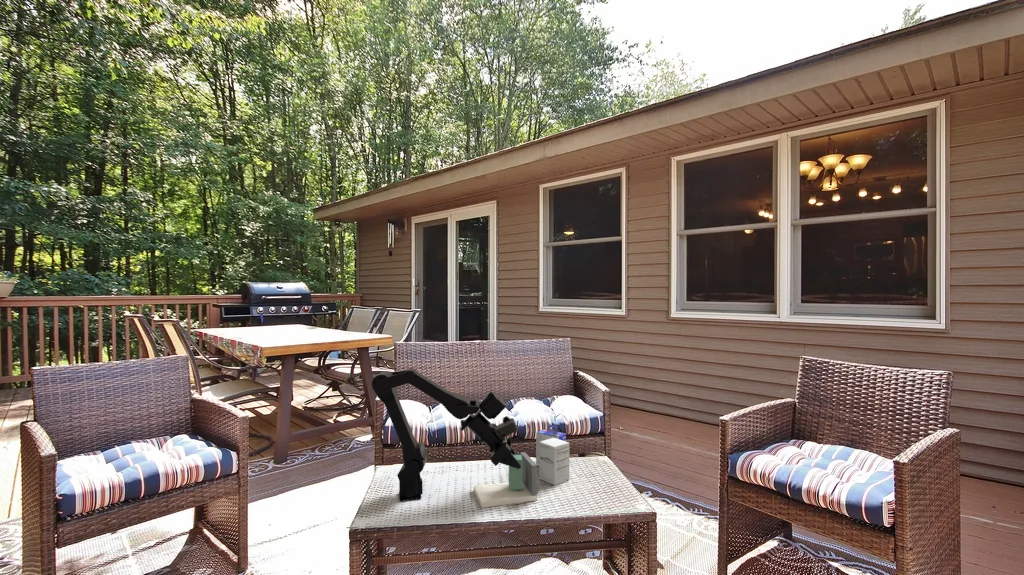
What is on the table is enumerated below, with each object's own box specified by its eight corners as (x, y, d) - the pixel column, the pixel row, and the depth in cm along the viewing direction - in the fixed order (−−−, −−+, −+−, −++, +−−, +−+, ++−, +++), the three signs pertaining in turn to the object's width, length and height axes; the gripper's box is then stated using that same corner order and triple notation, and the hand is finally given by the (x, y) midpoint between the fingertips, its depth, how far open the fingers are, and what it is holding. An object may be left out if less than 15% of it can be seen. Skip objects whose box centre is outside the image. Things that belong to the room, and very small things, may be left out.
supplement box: (538, 479, 156) (538, 441, 156) (554, 473, 161) (554, 436, 161) (554, 486, 150) (554, 446, 150) (570, 480, 155) (570, 441, 155)
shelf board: (481, 507, 136) (481, 471, 136) (473, 491, 147) (473, 457, 147) (537, 500, 140) (536, 465, 140) (525, 484, 152) (525, 452, 152)
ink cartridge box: (567, 467, 166) (567, 426, 166) (559, 472, 162) (558, 430, 162) (544, 461, 172) (543, 422, 172) (535, 466, 168) (535, 425, 168)
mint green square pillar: (509, 489, 142) (508, 459, 142) (508, 483, 147) (508, 454, 147) (522, 489, 142) (522, 459, 143) (521, 483, 147) (521, 454, 147)
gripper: (502, 419, 135) (540, 456, 136) (502, 403, 154) (535, 436, 154) (475, 446, 135) (513, 484, 135) (478, 427, 154) (511, 461, 154)
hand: (519, 464), depth 145 cm, fingers closed on mint green square pillar, 4 cm apart
